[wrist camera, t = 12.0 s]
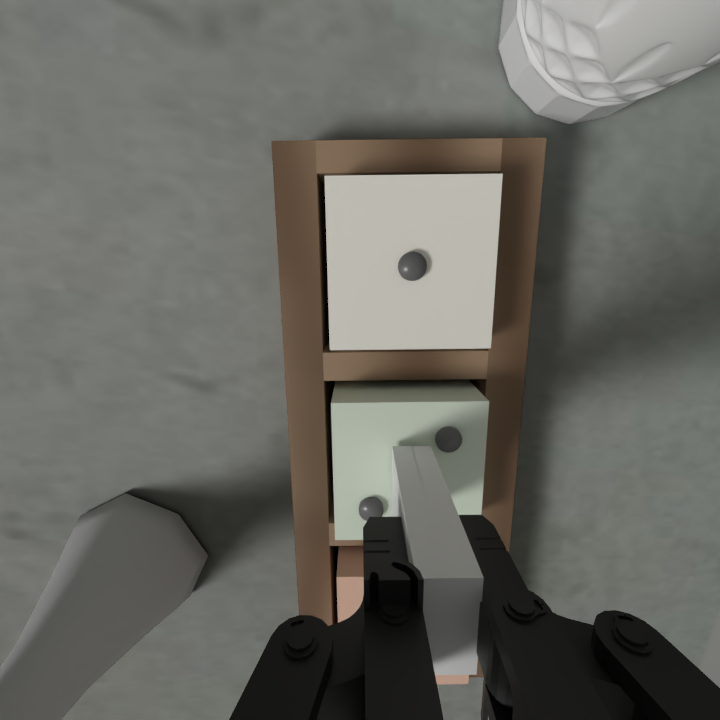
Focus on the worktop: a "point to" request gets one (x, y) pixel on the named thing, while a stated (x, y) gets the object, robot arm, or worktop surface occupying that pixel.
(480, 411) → the tile
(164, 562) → the flask
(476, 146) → the board
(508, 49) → the white cup
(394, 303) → the tile
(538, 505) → the worktop surface
